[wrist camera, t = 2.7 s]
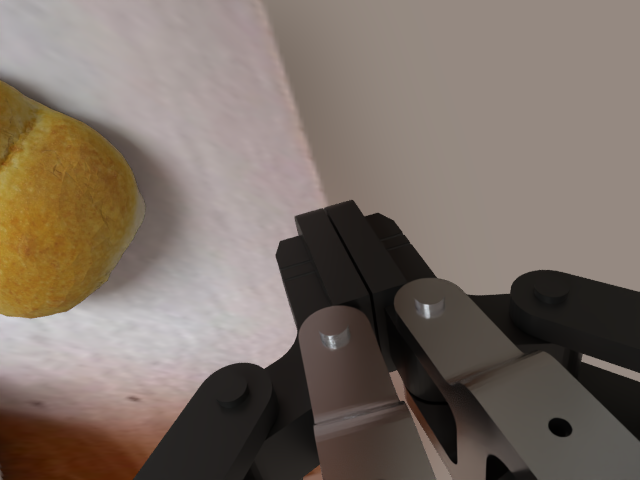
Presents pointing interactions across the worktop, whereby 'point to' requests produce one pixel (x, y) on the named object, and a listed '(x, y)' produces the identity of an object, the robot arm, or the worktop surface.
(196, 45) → the worktop surface
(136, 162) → the worktop surface
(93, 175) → the bread roll
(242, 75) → the worktop surface
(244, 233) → the worktop surface
